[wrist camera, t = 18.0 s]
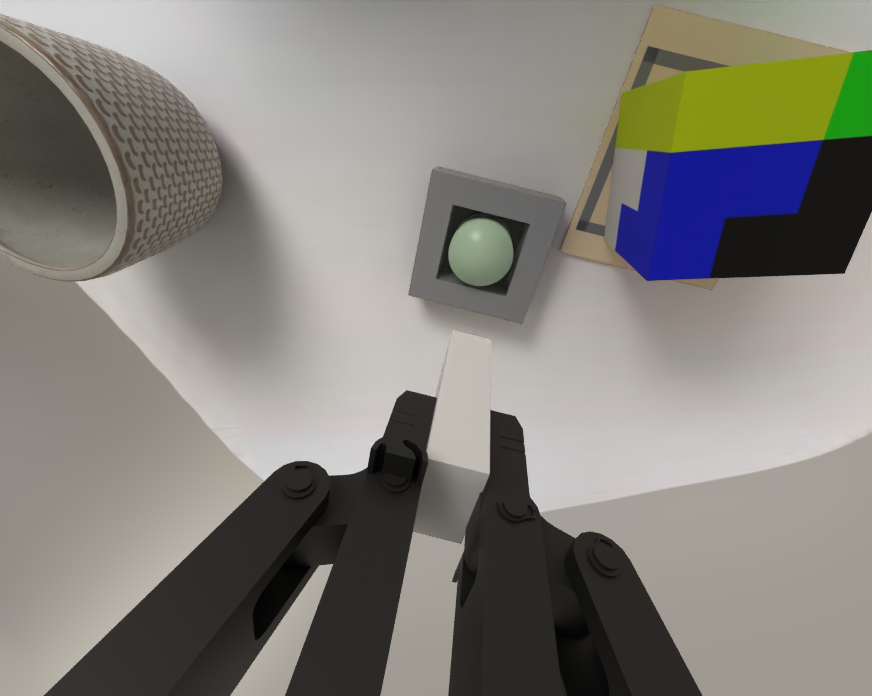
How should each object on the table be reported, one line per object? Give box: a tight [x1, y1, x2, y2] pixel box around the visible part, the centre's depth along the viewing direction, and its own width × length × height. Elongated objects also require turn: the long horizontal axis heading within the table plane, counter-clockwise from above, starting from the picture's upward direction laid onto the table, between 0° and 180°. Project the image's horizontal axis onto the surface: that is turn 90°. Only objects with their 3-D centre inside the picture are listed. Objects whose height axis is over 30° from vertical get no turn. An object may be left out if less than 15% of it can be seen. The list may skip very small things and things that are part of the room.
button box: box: [408, 167, 566, 324], centre depth 31 cm, size 10×10×3 cm
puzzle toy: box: [604, 50, 872, 281], centre depth 23 cm, size 10×10×10 cm
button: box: [448, 214, 513, 286], centre depth 31 cm, size 5×5×4 cm
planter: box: [0, 14, 222, 281], centre depth 27 cm, size 14×14×13 cm
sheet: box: [560, 5, 851, 290], centre depth 28 cm, size 16×13×1 cm
